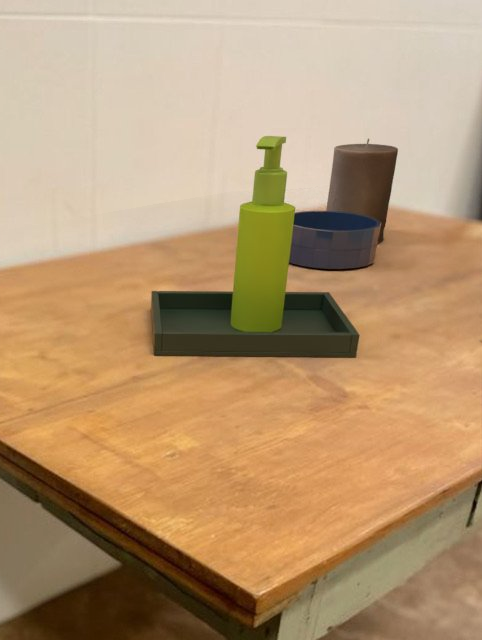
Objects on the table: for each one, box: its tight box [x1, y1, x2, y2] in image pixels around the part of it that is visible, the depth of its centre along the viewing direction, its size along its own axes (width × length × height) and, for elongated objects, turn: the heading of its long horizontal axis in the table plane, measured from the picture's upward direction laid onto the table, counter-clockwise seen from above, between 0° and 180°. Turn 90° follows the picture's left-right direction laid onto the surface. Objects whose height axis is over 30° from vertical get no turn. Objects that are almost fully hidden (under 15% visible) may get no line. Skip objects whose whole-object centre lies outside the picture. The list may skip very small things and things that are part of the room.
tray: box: [150, 290, 360, 358], centre depth 93 cm, size 22×16×2 cm
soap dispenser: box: [230, 135, 296, 332], centre depth 89 cm, size 6×7×20 cm
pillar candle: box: [325, 138, 399, 244], centre depth 129 cm, size 10×10×15 cm
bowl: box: [289, 210, 381, 270], centre depth 121 cm, size 14×14×6 cm
